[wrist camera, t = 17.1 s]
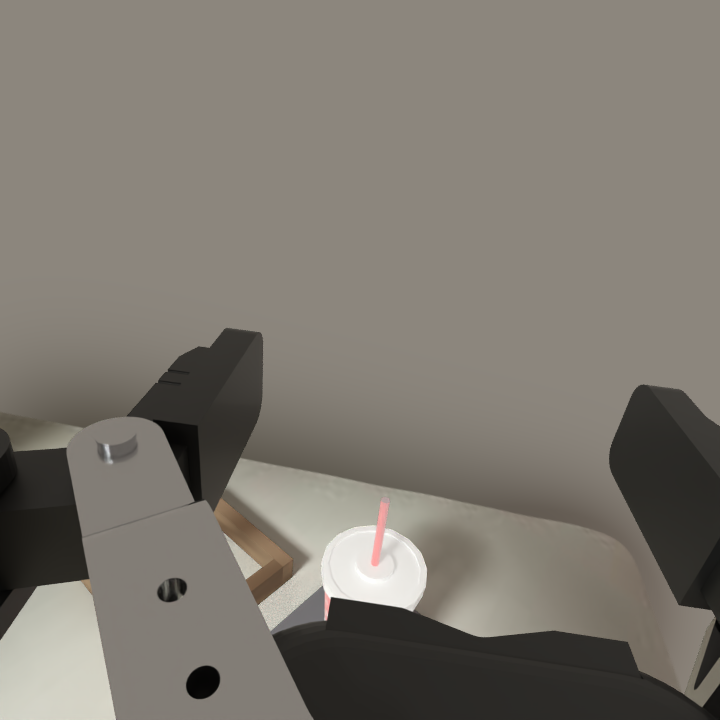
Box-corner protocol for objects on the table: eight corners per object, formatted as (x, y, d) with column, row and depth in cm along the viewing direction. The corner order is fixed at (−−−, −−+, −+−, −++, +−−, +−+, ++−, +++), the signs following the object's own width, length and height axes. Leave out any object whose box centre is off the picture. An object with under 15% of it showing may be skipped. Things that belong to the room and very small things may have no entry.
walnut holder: (77, 576, 38) (73, 557, 37) (206, 502, 45) (205, 484, 44) (160, 683, 32) (157, 664, 31) (291, 576, 40) (293, 558, 39)
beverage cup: (387, 728, 30) (425, 564, 24) (295, 682, 32) (307, 518, 26) (416, 639, 35) (454, 484, 29) (335, 603, 37) (354, 450, 31)
